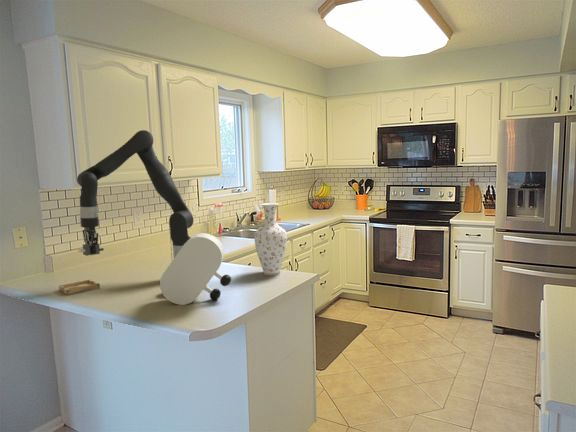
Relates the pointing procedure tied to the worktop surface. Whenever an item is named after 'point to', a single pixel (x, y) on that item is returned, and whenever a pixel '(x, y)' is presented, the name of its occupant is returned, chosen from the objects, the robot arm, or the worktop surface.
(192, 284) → the robot
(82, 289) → the tray
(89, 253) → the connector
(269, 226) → the vase
